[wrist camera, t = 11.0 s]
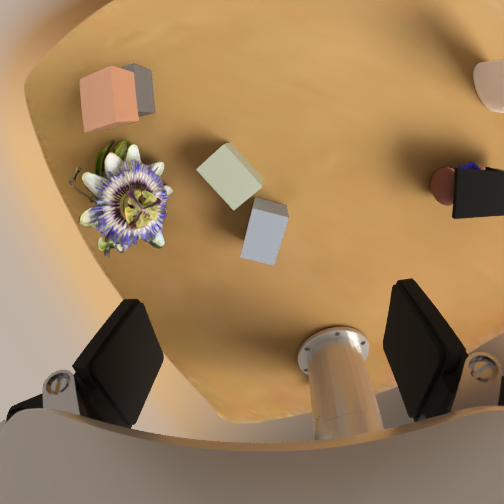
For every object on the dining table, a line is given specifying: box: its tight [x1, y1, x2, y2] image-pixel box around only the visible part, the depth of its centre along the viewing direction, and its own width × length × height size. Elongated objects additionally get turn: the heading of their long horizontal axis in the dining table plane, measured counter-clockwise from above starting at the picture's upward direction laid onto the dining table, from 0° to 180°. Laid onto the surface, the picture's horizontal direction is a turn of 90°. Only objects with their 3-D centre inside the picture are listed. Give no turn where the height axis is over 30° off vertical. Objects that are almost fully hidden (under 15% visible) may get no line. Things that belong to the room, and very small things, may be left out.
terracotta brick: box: [80, 66, 139, 133], centre depth 22 cm, size 6×4×5 cm, turn 6°
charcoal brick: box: [122, 64, 155, 117], centre depth 26 cm, size 6×4×5 cm, turn 5°
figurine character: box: [431, 162, 504, 219], centre depth 27 cm, size 7×8×15 cm
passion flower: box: [69, 140, 173, 258], centre depth 30 cm, size 13×12×14 cm
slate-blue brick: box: [240, 197, 289, 265], centre depth 33 cm, size 6×4×5 cm, turn 166°
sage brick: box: [196, 142, 263, 210], centre depth 30 cm, size 6×4×5 cm, turn 41°
